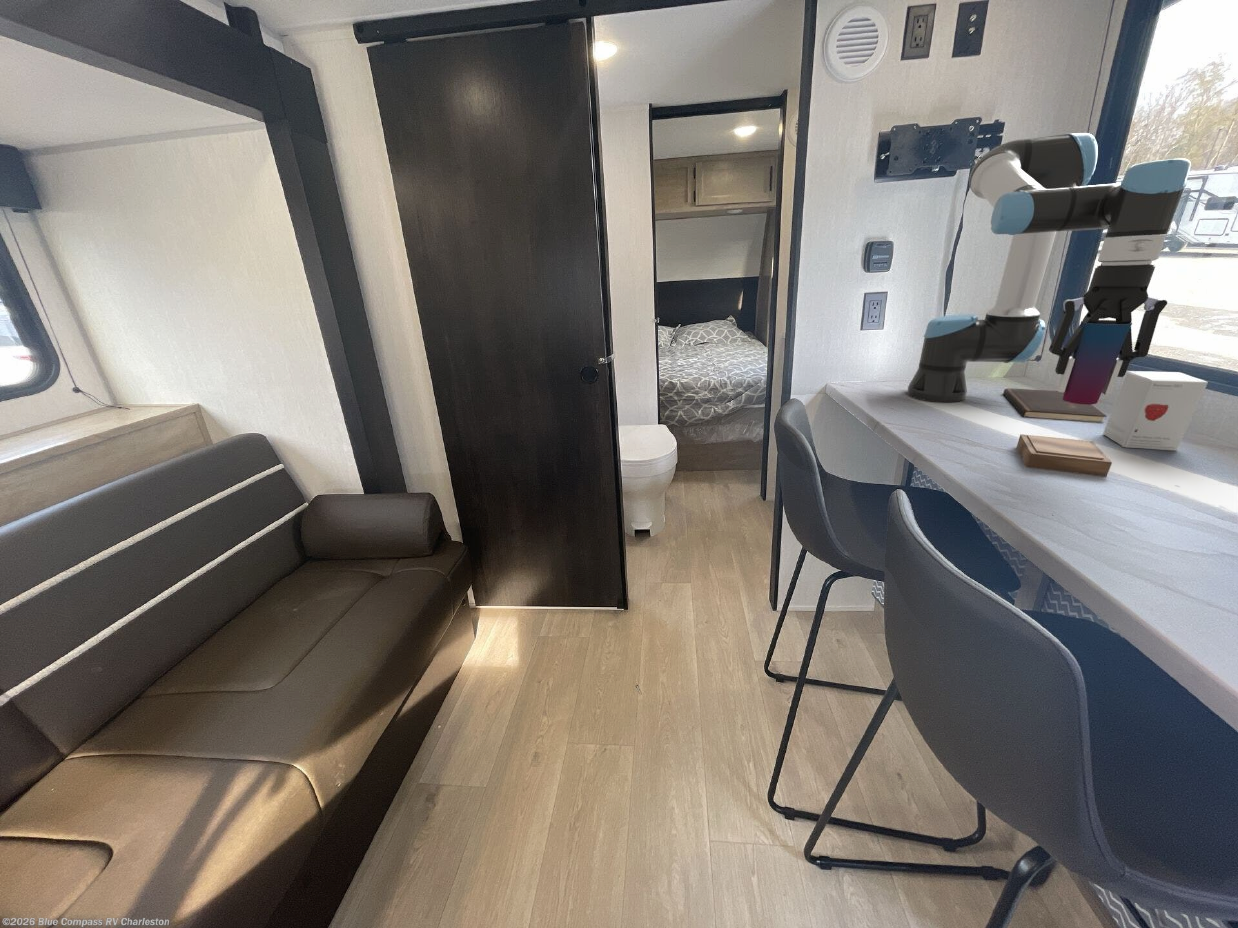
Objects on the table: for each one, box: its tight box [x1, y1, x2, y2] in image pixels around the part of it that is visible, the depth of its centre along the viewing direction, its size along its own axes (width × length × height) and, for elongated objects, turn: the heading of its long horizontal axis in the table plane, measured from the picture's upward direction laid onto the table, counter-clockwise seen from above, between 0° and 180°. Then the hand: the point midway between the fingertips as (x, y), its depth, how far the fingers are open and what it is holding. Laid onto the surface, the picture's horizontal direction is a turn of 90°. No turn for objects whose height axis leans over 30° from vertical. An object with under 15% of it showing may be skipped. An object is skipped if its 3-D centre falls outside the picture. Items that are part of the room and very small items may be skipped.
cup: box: [1063, 319, 1133, 405], centre depth 90 cm, size 7×7×15 cm
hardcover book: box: [1002, 387, 1107, 423], centre depth 130 cm, size 16×23×2 cm
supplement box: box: [1102, 370, 1209, 452], centre depth 102 cm, size 9×9×15 cm
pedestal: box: [1016, 433, 1113, 477], centre depth 98 cm, size 12×12×3 cm
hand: (1082, 391), depth 93 cm, fingers closed on cup, 6 cm apart
